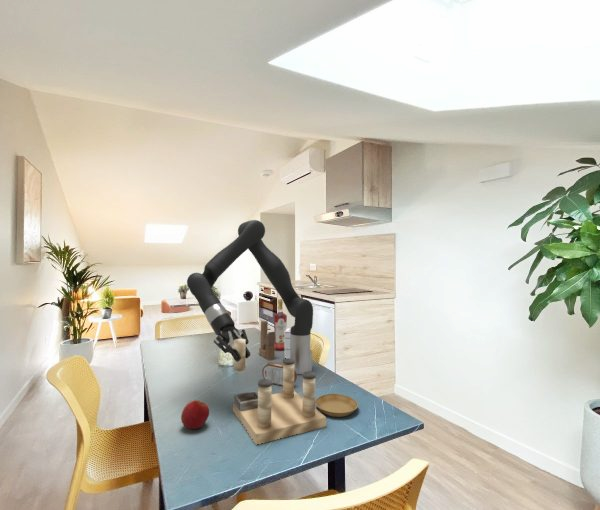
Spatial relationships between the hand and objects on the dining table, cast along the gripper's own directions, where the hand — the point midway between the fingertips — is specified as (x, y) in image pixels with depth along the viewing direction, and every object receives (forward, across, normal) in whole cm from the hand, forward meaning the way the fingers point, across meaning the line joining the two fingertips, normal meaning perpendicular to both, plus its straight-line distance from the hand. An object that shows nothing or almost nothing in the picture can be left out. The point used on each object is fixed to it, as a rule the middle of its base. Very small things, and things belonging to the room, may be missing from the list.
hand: (243, 358), depth 115 cm
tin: (+10, +25, +16) cm, 31 cm away
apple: (+10, -17, +16) cm, 25 cm away
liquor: (-11, +66, +37) cm, 76 cm away
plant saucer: (+31, +19, -5) cm, 37 cm away
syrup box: (-1, +57, +27) cm, 64 cm away
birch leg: (+1, 0, +4) cm, 5 cm away
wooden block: (-9, +51, +35) cm, 62 cm away
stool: (+22, +2, +4) cm, 22 cm away
